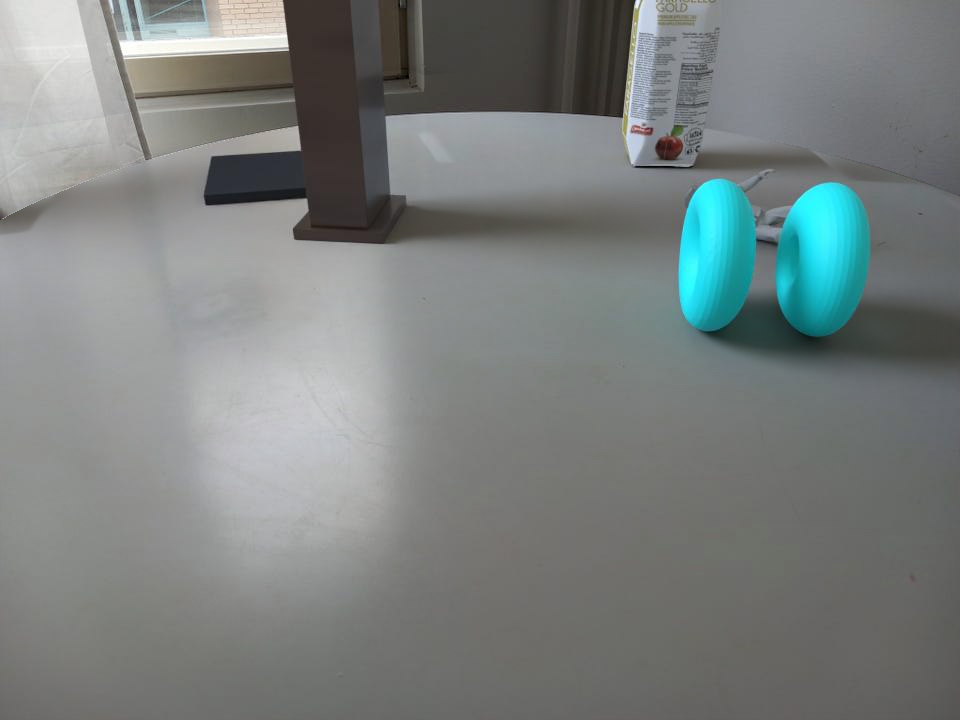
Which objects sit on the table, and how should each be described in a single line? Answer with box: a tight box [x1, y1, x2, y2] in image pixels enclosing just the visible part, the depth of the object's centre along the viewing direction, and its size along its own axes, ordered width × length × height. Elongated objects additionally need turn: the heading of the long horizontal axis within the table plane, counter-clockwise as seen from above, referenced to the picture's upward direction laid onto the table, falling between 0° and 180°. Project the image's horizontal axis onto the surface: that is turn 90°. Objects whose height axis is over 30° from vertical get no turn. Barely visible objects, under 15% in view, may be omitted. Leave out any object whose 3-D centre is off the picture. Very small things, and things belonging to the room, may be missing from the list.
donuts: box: [678, 178, 871, 338], centre depth 49 cm, size 10×10×10 cm
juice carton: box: [621, 0, 724, 165], centre depth 81 cm, size 8×9×19 cm
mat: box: [203, 150, 307, 206], centre depth 79 cm, size 14×10×1 cm
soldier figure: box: [684, 168, 793, 244], centre depth 64 cm, size 8×5×12 cm
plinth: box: [282, 0, 407, 244], centre depth 61 cm, size 10×8×31 cm
